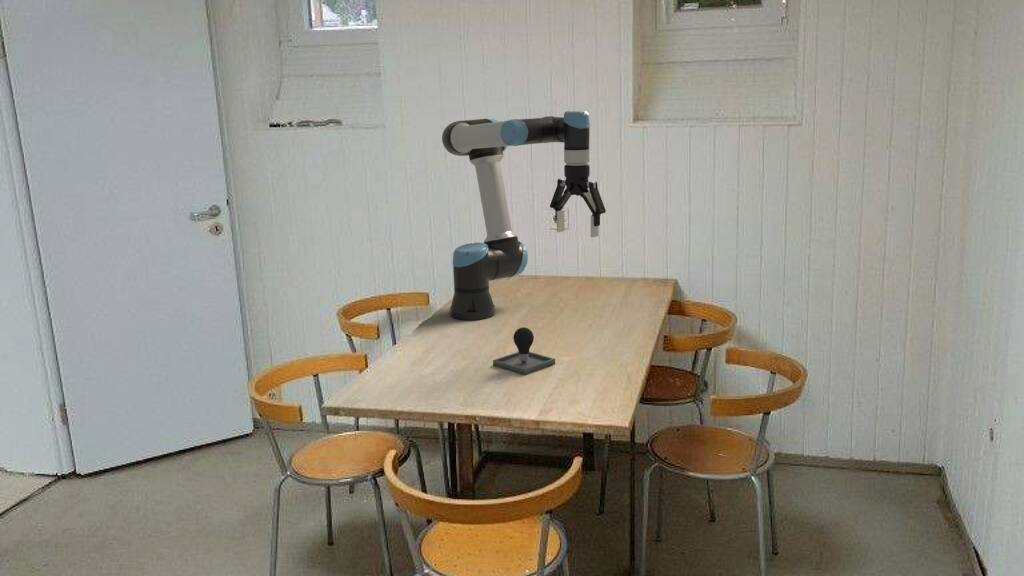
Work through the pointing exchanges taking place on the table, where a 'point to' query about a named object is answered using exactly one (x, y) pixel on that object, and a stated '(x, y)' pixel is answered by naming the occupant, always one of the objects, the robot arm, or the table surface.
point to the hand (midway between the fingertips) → (577, 234)
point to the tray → (529, 366)
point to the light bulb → (523, 342)
